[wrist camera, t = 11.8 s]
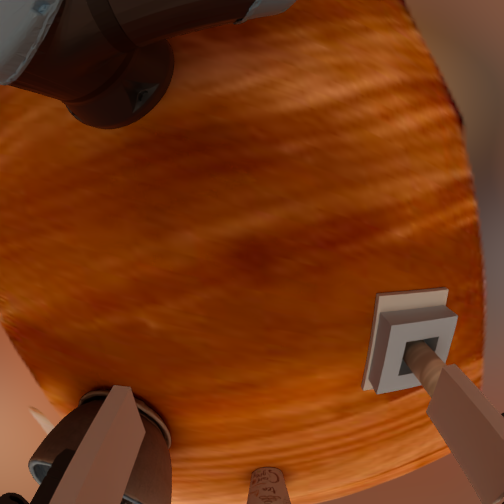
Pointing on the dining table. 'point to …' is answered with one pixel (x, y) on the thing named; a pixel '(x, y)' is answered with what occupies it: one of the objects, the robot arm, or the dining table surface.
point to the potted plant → (147, 461)
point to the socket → (405, 335)
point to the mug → (268, 487)
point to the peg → (423, 364)
